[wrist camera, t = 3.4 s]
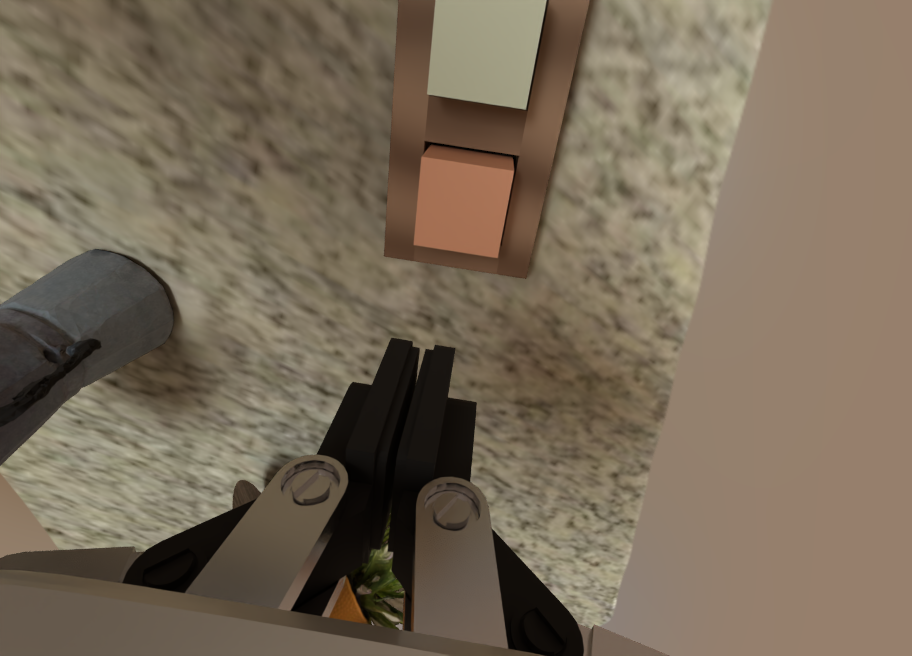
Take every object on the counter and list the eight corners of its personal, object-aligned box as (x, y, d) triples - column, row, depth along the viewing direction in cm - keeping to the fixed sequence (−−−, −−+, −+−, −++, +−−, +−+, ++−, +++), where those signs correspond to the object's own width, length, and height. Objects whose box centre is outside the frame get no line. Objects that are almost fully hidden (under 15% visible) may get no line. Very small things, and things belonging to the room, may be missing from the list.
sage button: (523, 102, 27) (525, 109, 23) (436, 89, 27) (427, 94, 23) (542, -3, 24) (549, -13, 21) (447, -18, 24) (438, -30, 21)
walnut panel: (524, 264, 33) (526, 278, 31) (391, 243, 33) (384, 256, 31) (646, -280, 20) (663, -320, 18) (427, -312, 20) (418, -355, 18)
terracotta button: (498, 235, 31) (497, 258, 27) (423, 223, 31) (413, 244, 27) (512, 156, 28) (514, 171, 25) (431, 144, 28) (421, 156, 25)
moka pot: (13, 274, 38) (-401, 459, 20) (159, 207, 34) (-203, 368, 16) (98, 367, 42) (-187, 585, 25) (236, 317, 38) (12, 537, 21)
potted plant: (409, 540, 62) (542, 699, 42) (278, 628, 53) (366, 877, 34) (360, 375, 53) (501, 479, 33) (193, 450, 44) (245, 649, 24)
